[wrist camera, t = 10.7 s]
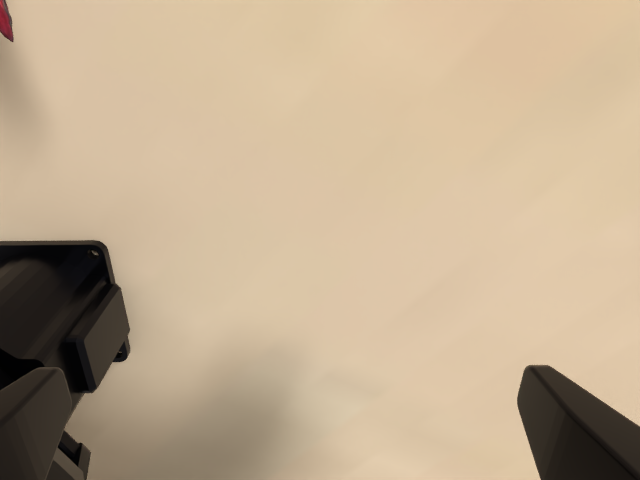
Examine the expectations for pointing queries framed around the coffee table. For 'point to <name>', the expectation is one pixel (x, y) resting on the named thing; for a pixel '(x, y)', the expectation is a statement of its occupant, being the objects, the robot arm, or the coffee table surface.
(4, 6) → the decorative bird figurine
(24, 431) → the robot arm
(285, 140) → the coffee table surface
